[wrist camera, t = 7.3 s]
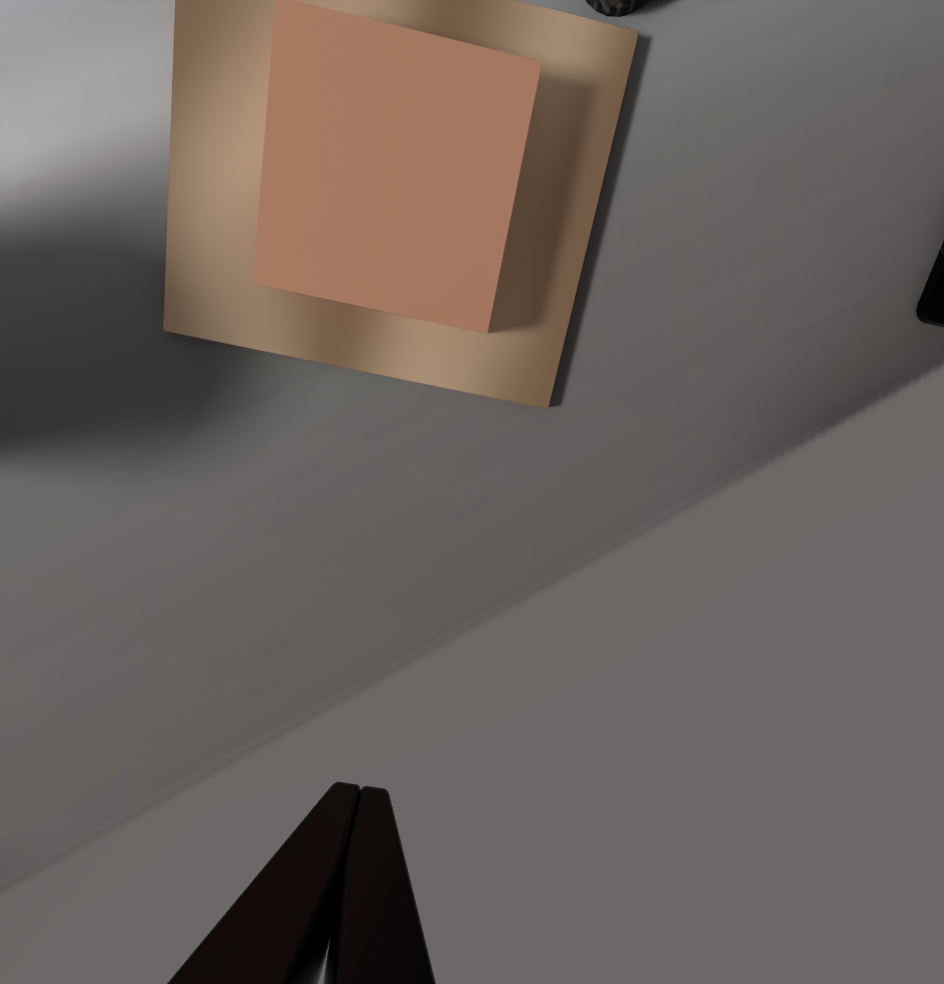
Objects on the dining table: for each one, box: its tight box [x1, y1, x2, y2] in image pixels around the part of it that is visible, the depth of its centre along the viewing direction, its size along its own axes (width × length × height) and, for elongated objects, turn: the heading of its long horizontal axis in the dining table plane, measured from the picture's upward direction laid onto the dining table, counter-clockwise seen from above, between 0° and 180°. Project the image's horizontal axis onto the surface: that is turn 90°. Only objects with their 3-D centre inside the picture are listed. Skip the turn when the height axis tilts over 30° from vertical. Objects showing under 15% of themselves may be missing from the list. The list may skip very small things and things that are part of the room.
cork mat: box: [163, 0, 639, 409], centre depth 16 cm, size 13×11×1 cm
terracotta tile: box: [253, 0, 542, 334], centre depth 15 cm, size 2×7×7 cm
